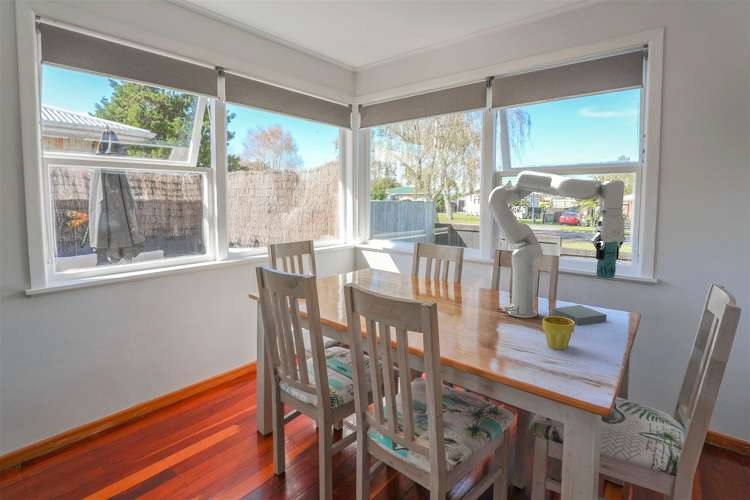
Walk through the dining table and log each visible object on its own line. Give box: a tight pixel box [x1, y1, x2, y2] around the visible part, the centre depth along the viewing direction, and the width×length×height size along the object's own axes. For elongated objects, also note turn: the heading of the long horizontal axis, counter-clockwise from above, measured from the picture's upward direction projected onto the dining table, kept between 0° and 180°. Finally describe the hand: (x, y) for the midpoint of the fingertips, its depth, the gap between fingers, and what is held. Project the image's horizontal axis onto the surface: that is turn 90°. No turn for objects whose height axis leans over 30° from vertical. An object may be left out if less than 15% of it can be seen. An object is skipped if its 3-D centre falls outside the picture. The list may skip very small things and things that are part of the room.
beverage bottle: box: [596, 241, 618, 279], centre depth 156 cm, size 6×7×20 cm
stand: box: [551, 304, 608, 326], centre depth 175 cm, size 15×15×3 cm
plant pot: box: [542, 315, 576, 351], centre depth 144 cm, size 10×10×10 cm
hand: (607, 258), depth 156 cm, fingers closed on beverage bottle, 6 cm apart
